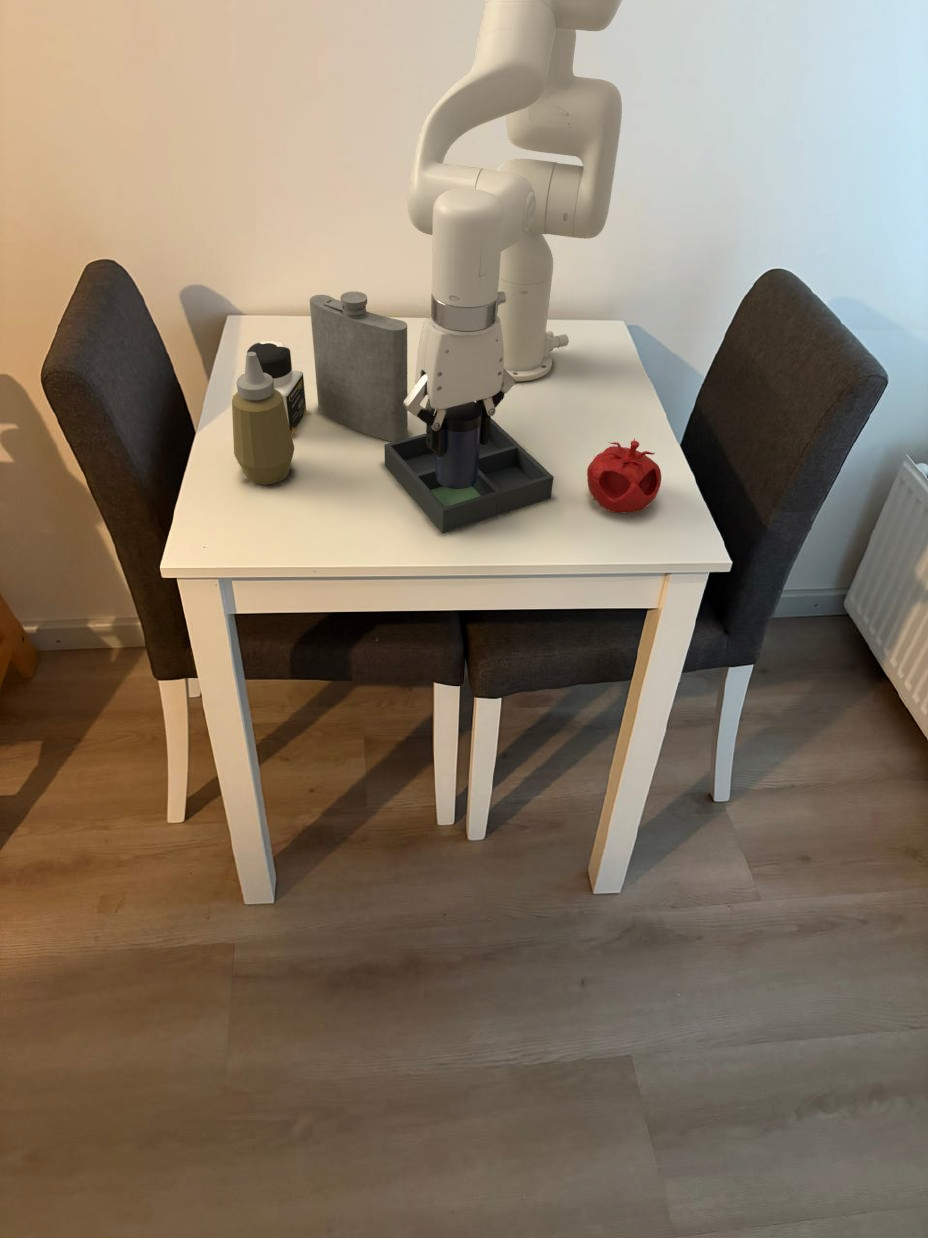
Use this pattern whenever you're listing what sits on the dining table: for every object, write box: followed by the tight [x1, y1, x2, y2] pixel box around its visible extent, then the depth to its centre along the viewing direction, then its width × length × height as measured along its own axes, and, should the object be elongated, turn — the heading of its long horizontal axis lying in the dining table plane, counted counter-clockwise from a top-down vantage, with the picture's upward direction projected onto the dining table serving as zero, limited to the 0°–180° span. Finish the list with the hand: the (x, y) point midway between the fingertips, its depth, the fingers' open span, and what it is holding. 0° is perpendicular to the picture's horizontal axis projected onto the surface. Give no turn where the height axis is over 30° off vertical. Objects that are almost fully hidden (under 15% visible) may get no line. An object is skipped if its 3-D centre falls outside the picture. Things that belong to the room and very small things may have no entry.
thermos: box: [435, 401, 482, 489], centre depth 113 cm, size 6×6×10 cm
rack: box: [383, 417, 555, 534], centre depth 123 cm, size 17×17×4 cm
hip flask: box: [309, 291, 409, 442], centre depth 127 cm, size 16×4×20 cm, turn 58°
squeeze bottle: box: [231, 352, 295, 485], centre depth 118 cm, size 8×8×18 cm
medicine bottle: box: [246, 340, 308, 436], centre depth 129 cm, size 7×7×12 cm
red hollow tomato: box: [586, 437, 662, 514], centre depth 120 cm, size 10×10×9 cm
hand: (457, 444), depth 113 cm, fingers closed on thermos, 5 cm apart
